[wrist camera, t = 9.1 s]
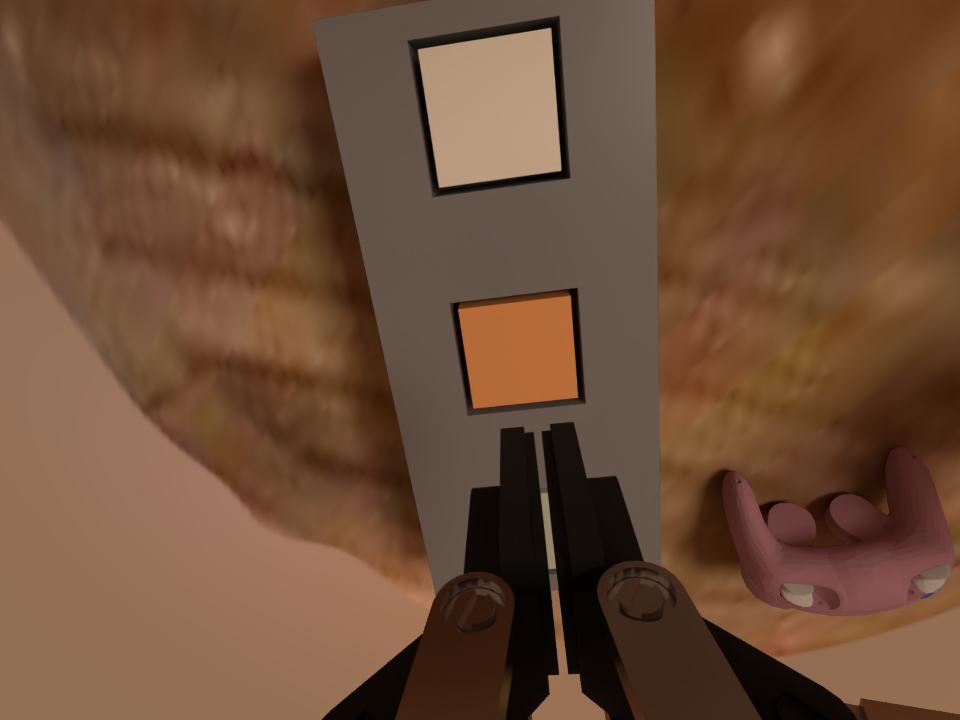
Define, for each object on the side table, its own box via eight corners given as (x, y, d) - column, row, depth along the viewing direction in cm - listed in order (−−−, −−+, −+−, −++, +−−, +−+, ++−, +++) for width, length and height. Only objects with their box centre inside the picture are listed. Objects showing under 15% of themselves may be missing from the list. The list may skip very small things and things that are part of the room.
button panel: (347, 44, 22) (311, 20, 17) (623, -1, 21) (654, -38, 16) (445, 537, 31) (436, 598, 27) (638, 520, 30) (660, 581, 26)
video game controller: (705, 504, 31) (753, 634, 27) (716, 465, 28) (773, 606, 23) (884, 480, 30) (966, 610, 26) (918, 436, 27) (1020, 577, 22)
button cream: (428, 62, 20) (417, 49, 18) (543, 43, 20) (550, 28, 17) (446, 182, 22) (439, 187, 19) (553, 167, 22) (561, 170, 19)
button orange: (462, 289, 24) (458, 309, 21) (562, 277, 23) (570, 295, 21) (476, 379, 25) (473, 408, 23) (569, 369, 25) (578, 397, 22)
